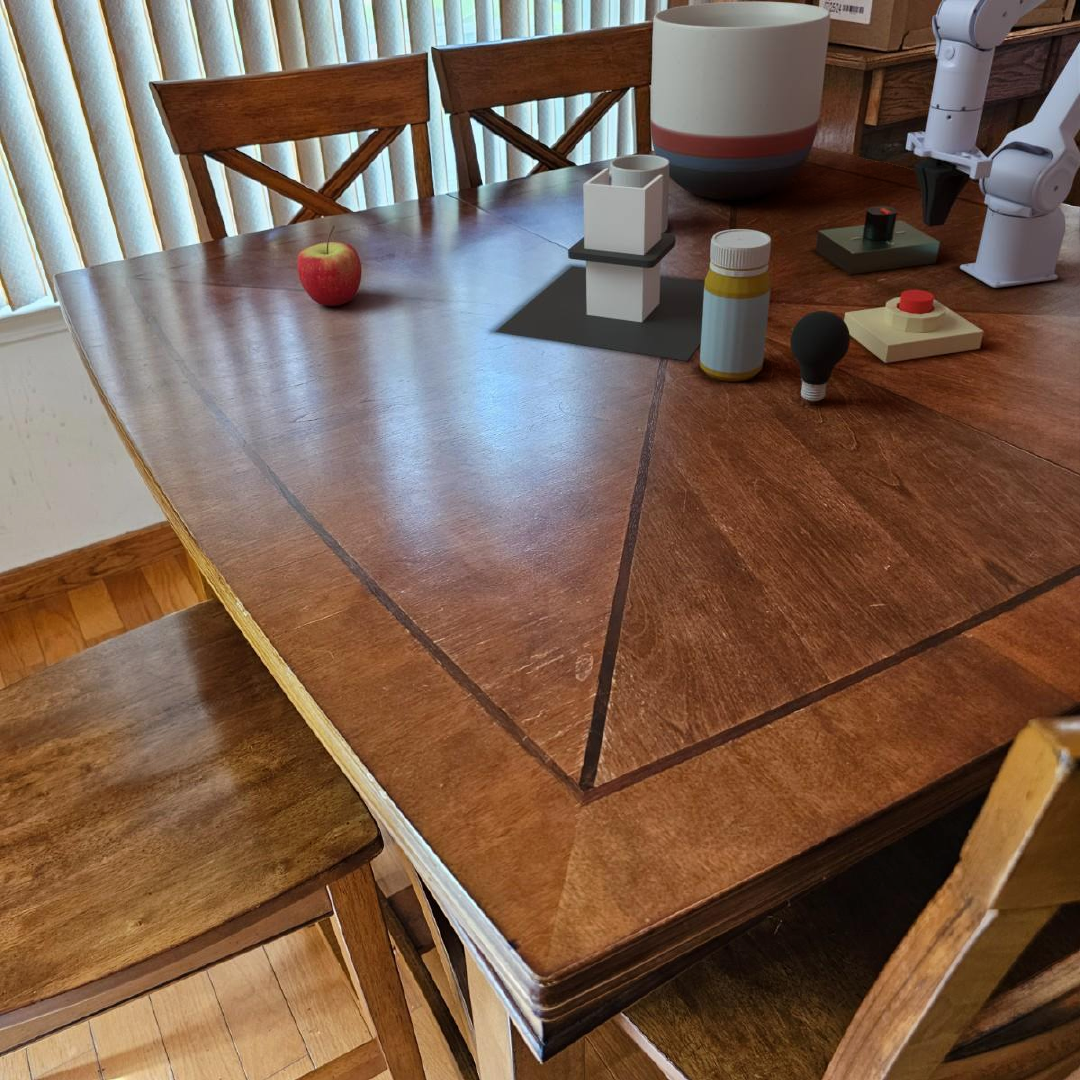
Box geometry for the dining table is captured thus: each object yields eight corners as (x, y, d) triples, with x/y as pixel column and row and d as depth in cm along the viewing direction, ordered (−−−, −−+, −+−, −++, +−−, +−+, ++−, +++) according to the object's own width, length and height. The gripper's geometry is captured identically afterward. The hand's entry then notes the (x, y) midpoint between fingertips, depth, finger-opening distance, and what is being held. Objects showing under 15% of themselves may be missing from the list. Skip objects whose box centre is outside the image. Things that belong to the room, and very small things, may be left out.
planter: (831, 180, 170) (854, 4, 154) (776, 226, 151) (796, 31, 136) (688, 164, 182) (695, -2, 166) (621, 205, 163) (622, 23, 148)
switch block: (931, 316, 122) (937, 285, 119) (979, 348, 114) (987, 316, 111) (842, 329, 119) (847, 297, 117) (885, 363, 111) (891, 330, 109)
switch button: (920, 302, 116) (923, 287, 115) (937, 313, 113) (940, 298, 112) (892, 306, 116) (895, 291, 115) (909, 317, 113) (911, 303, 112)
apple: (379, 299, 133) (368, 226, 128) (328, 319, 128) (315, 243, 123) (341, 286, 138) (330, 214, 132) (291, 304, 133) (277, 231, 127)
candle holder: (743, 286, 132) (753, 159, 122) (687, 360, 114) (694, 219, 105) (572, 266, 141) (569, 146, 131) (495, 331, 123) (485, 198, 114)
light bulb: (841, 417, 102) (855, 326, 96) (783, 413, 103) (793, 323, 97) (839, 391, 106) (852, 303, 101) (783, 388, 108) (793, 300, 102)
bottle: (766, 360, 113) (779, 230, 105) (756, 386, 108) (769, 252, 99) (706, 353, 115) (714, 225, 107) (693, 379, 110) (701, 247, 101)
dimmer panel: (897, 240, 144) (901, 219, 142) (935, 263, 136) (940, 240, 134) (815, 251, 142) (818, 229, 140) (849, 274, 134) (853, 252, 132)
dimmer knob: (857, 232, 138) (861, 205, 136) (883, 229, 139) (887, 202, 137) (872, 241, 135) (876, 214, 133) (898, 238, 136) (903, 210, 134)
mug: (677, 224, 154) (679, 158, 148) (649, 242, 148) (650, 174, 142) (616, 215, 159) (616, 150, 153) (586, 232, 153) (585, 166, 147)
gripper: (891, 96, 118) (874, 210, 126) (961, 123, 107) (937, 246, 115) (944, 91, 120) (923, 204, 127) (1019, 116, 108) (991, 239, 116)
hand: (933, 224), depth 121 cm, fingers closed
